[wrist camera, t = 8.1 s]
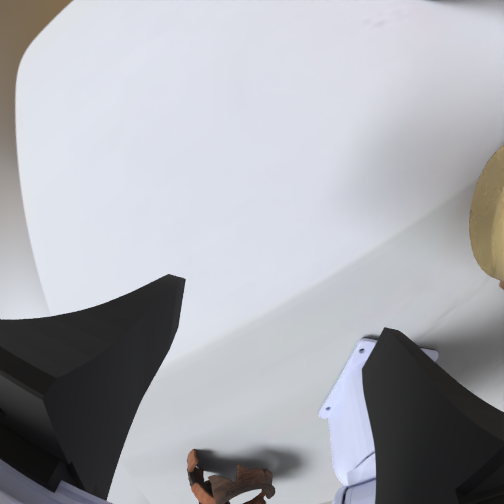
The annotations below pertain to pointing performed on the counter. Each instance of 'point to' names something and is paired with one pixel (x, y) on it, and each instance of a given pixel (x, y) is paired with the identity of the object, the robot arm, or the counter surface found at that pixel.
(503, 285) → the block
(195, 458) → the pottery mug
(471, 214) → the gold disc-headed rod
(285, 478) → the counter surface
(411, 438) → the robot arm
